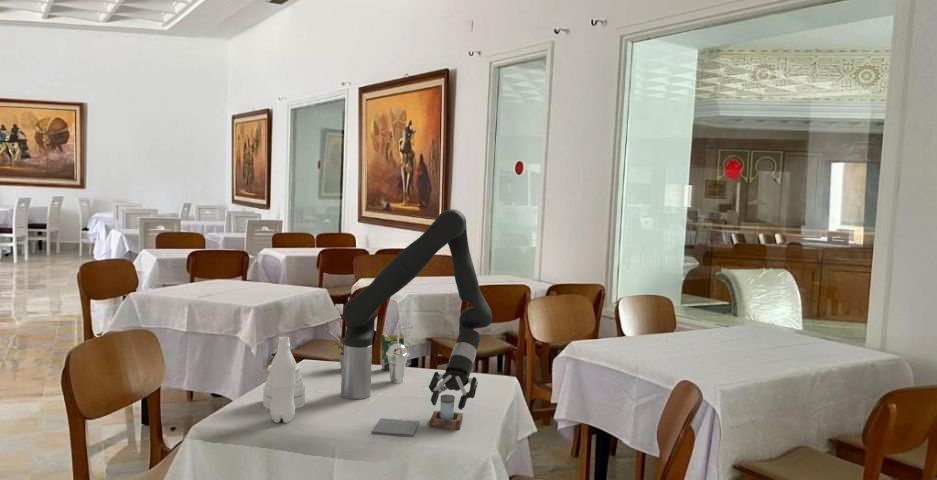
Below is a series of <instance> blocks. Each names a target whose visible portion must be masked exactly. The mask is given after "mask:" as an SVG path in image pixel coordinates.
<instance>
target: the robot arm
mask: <svg viewBox="0 0 937 480" xmlns="http://www.w3.org/2000/svg"><path fill="white" fill-rule="evenodd" d="M446 245H448V248H449V252H450V256H451V261H452V269H453V276H454V280H455V283H456V289H457V291H458V295H459V298H460V300H461V301H463V302H468V303H470V304H471V306H472V307H471V306H470V307H467V308H464V309H463V310H462V312H461V313H460V315H459V321H458V323H459V325H458V326H459V328H458V336H457V339H456V341H455V342H456V343H455V345H454V347H453V349H452V352H451V354H450V357H449V360H448V363H447V366H446V369H445V372H444V373H442V374H441V373H439V372H438V371H435V372H434V373H433V375H432V378H431V380H430V383H429V385H428V389H429V390H430V392H431V393H432V395H431V397H430V402H431V404H432V406H436V405H437V402H438V400H439V396H440V394H441V393H442V392H445V391H447V390H449V391H452V390H453V391H456V392H459V391H461V394H462V395H460V399H459V401H458V406H457V407H458V410H463V409H464V408H465V406H466V404H467V400H468V399H474V398H475V396H476V392H477V388H478V383H479V382H478V380H477V377H476V376H473V377H472V378H471V377H470V376H471V373H472V369H473V367H474V364H475V360H476V356H477V352H478V349H479V348H478V347H479V346H480V342H481V335H480V333H479V332H477V330H475V329H481V328H482V329H483V328H487V327H490V325H491V324H492V321H493V313H492V310H491V308H490V306H489V303H488V302H487V301H486V299H485V296H484V295H483V293H482V291H481V288H480V284H479V280H478V277H477V274H476V269H475V266H474V263H473V259H472V255H471V250H470V247H469V240H468V231H467V219H466V217H465V215H464V213H463V212H461V211H459V210H457V209H454V208H453V209H452V208H451V209H446V210H444V211H442V212H441V213H440V214H438V216H437V217H436V218H435V220H434V221H433V222H432V224H431V225H430V226H429V227H428V228H427V229H426V230H425V231H424V232H423V233H422V234H421V235H420V236H419V237H418V238H417V239H416V240H413V242H411V243H410V244H409V245H408V246H406V247H405V248H404V249H402V250H401V251H400V252H399V253H397V255H396V256H394V257H393V258H392V259H391V260H390V261H389V263H387V264H386V265H385V267H383V269H382V270H381V271H380V272H379V273H378V274H377V276H376V277H375V278H374V279H373V281H371V283H370V284H369V285H367V286H366V287H365V288H364V289H363V290H361V292H359V293H358V294H357V295H356V296H355V295H354V297H352V298H350V299H349V300H348V301H347V302H346V303H345V305H343V306H344V307H343V309H342V318H343V320H344V321H345V323H346V327H347V330H346V329H345V331H346V334H345V333H344V338H343V340H344V346H343V347H344V365H343V368H342V370H341V377H340V379H341V383H340V387H341V388H340V397H341V398H346V399H350V400H351V399H353V400H359V399H360V400H363V399H367V398H369V397H371V392H372V390H371V389H372V363H373V361H372V359H373V340H374V339H373V338H374V335H375V324H376V323H375V319H376V317H375V316H376V311H377V310H378V309H379V308H380V307H381V306H382V304H384V303H385V302H386V301H387V300H388V299H390V298H391V297H393V296H394V295H395V294H397V293H398V292H400V291H401V290H403V288H405V287H406V286H407V285H408V284H409V283H411V282H412V281H413V280H414V279H416V277H417V276H418V275H420V273H421V272H422V271H423V270H424V269H425V268H426V266H427V265H428V264H429V262H430V261H431V260H432V259H433V257H434V256H435V255H436V254H437V253H438V252H439V251H440V250H441V249H442V248H444V247H445V246H446ZM468 384H469V385H470V386H469V391H466V388H465V386H467V385H468Z"/></svg>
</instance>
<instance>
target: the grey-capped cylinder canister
mask: <svg viewBox="0 0 937 480" xmlns="http://www.w3.org/2000/svg"><path fill="white" fill-rule="evenodd" d="M455 398H456V397H455V395H453V394H446V393H445V394H441V395H440V410H439V411H440V419H448V420H453V417H454V412H455Z"/></svg>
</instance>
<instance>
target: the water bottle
mask: <svg viewBox="0 0 937 480" xmlns="http://www.w3.org/2000/svg"><path fill="white" fill-rule="evenodd" d="M278 346H279V348H278ZM290 346H291V343H290V337H289V336H279V337H278V344H277V352H275V355H274V356H273V359H272V361H271V364H270V365H271V367H272V368H271V369H272V370H271V390H272V403H271V407H270V409H269V414H270V417H271V419H272V421H273V422H274V423H276V424H279V423H280V422H281V420H282V421H283V423H284V424H287V423H290V422H291V421H293V419H294V418H295V414H296V409H295V404H294V390H295V386H296V382H295V374H296V364H297V362H296V360H295V358H294V355H293V352H291V351H292V350H291V348H290Z"/></svg>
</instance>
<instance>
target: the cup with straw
mask: <svg viewBox="0 0 937 480" xmlns="http://www.w3.org/2000/svg"><path fill="white" fill-rule="evenodd" d="M413 328H414V326H413V325H410V326H405V327H401V328H398V329H397V332H396V333H397V334H396V335H397V343H395V344H393V345H391V346H390V348H389V350H388V351H387V352H386V355H387V356H388V361H389V370H388V371H389V379H390V383H393V384H402V383H403V382H404V378H405V372H406V371H405V370H406V365H407V361H408V357H409V356H410V355H411V354H410V352H409V351H408V349H407V347H406V346H405V344H404V345H403V344H401V343H399V334H400V331H403V330H405V331H406V330H409V329H413Z"/></svg>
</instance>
